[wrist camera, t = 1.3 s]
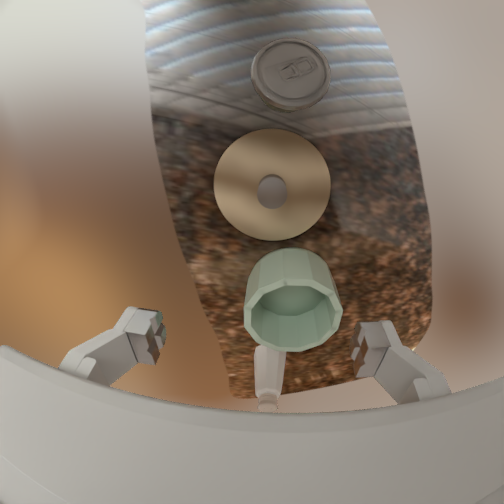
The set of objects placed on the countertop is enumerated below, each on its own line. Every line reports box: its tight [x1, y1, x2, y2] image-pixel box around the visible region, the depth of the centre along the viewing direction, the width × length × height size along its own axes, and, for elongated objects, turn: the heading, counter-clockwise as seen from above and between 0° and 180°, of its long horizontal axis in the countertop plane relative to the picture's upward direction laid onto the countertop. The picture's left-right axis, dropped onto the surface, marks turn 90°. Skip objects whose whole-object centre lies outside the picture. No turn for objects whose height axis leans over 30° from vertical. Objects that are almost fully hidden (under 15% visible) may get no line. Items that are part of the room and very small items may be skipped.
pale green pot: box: [244, 247, 343, 352], centre depth 33 cm, size 11×11×7 cm
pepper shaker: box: [254, 345, 286, 413], centre depth 38 cm, size 5×5×11 cm
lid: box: [214, 129, 331, 241], centre depth 29 cm, size 13×13×4 cm
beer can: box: [251, 38, 331, 112], centre depth 19 cm, size 5×5×12 cm
